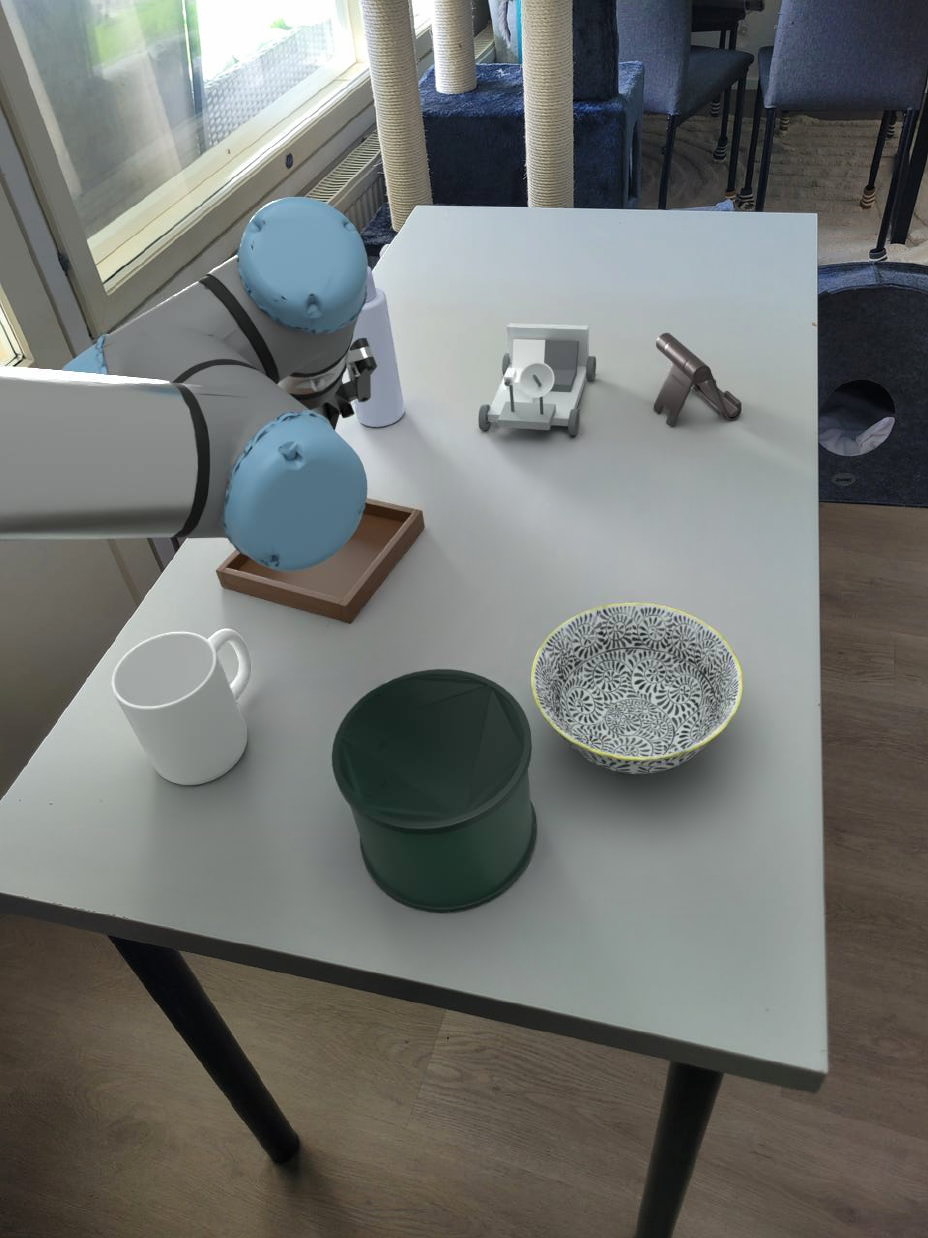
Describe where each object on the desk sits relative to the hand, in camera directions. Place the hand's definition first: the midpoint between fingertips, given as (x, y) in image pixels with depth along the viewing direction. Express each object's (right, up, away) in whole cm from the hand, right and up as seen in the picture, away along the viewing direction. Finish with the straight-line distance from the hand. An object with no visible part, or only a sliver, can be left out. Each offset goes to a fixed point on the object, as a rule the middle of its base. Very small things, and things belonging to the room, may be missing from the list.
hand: (287, 433), depth 90 cm
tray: (+3, -12, +7) cm, 14 cm away
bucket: (+16, -34, -19) cm, 42 cm away
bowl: (+31, -28, -14) cm, 44 cm away
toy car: (+26, +8, +24) cm, 36 cm away
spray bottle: (+7, +7, +26) cm, 28 cm away
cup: (-4, -28, -9) cm, 30 cm away
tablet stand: (+44, +7, +20) cm, 49 cm away
